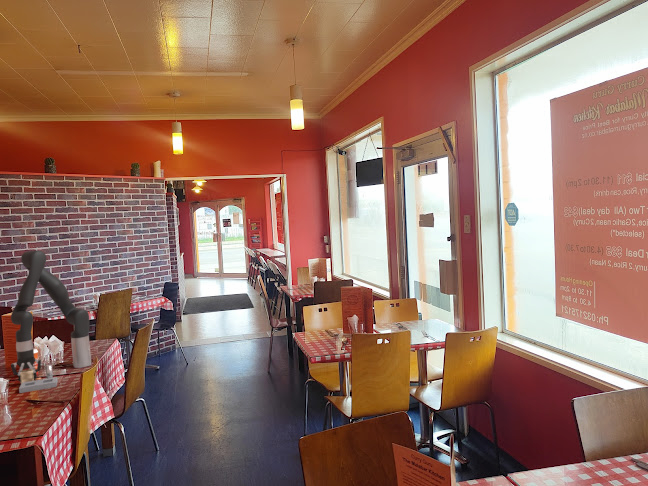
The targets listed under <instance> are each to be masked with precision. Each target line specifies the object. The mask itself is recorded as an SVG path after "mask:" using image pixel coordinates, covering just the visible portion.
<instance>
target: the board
mask: <svg viewBox="0 0 648 486" xmlns="http://www.w3.org/2000/svg"><path fill="white" fill-rule="evenodd" d="M58 380H59V379H58V377H57V376H53V378H48V379H47V378H43V379H42V378H41V379H40V380H35V381H30V382H24V383H22V384H21V383H20V386H19V388H18V391H19V394H23V393H30V392H34V391H39V390H46V389H53V388H56V387H57V386H58V383H59V382H58Z"/></svg>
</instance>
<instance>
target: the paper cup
mask: <svg viewBox="0 0 648 486" xmlns="http://www.w3.org/2000/svg"><path fill="white" fill-rule="evenodd" d="M33 350H34V358H35V359H38V358H39V356H38V352H39V351H38V348H33ZM33 365H34V367H35V369H37V367H38V364H37V363H36V362H35V363H34V364H33ZM28 369H31V368H26V369H24V370H28ZM36 373H37V376H38V375H39V371H38V372H36Z"/></svg>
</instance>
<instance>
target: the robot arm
mask: <svg viewBox="0 0 648 486" xmlns="http://www.w3.org/2000/svg"><path fill="white" fill-rule="evenodd" d="M45 253H46V252H44V251H42V250H39V249H37V250H29V251H28V250H27V251H25V252H23V253H22V255H21V257H20V261H21V263H22V265H23V266H24V267H25V268H26V270H27V271H28V275H27V277H26V279H25V280H24V282H23V284H22V286H21V287H20V290H19V293H18V298H17V302H16V304H15V306H14V309H13V310H12V312H11V313H10V314H11V315H10V321H11V323H12V324H13V325H18V326H19V325H20V328H19V329H17V330H16V331H15V342H16V343H15V350H16V358H17V360H16V362H12V363H11V364H10V368H11V371H12V373H13V375H14V376H17V377H18V382H19V383H20V384H21V378H20V373H21V372H22V370H25V369H26V368H31V370H32V371H33V376H34V380H35V379H36V378H38V375H37V373H36V372H38V373H39V372H40V370H41V364H42V358H39V359H35V358H34V350H33V349H34V342H33V337H32V336H33V334H32V330H33V323H34V316H33V313H32V312H31V311H28V310H27V309H28V308H29V307H33V304H34V300H35V295H36V291H37V287H38V284H39V285H41V287H42V289H44V290H45V292H46V293H47V295H48V296H49V298H50V299H51V300H52V301H53V302H54V303H55V305H56V306H57V307H58V308H59V310H60V311H61V313H62V314H63V316H64V318H65V320H66V321H67V323H69V324H70V325H72V326H74V329H73V331H72V332H71V333H70V338H71V340H70V341H71V343H70V344H71V351H72V352H71V353H72V362H73V363H72V365H73V368H76V369H78V368H85V367H88V366H89V367H90V366H92V356H91V354H92V353H91V347H90V336H89V333H90V329H91V328H90V323H91V322H90V314H89V312H88V310H86V309H81V308H77V307H76V306H75V305H74V304H73V302H72V301H71V298H70V295H69V290H68V289H67V287H66V286H65V284H64V283H63V282H62V281H61V279H60V278H58V276H56V275H54V274H53V273H51V272H50V271H48V269H46V267H45V265H46V263H47V255H46V254H45ZM35 362H36V363H37V364H38V367H37V369H35V367H34V365H33V364H34V363H35ZM17 366H18V367H19V370H18V371H17V368H16V367H17ZM35 381H36V380H35Z"/></svg>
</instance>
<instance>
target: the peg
mask: <svg viewBox="0 0 648 486" xmlns="http://www.w3.org/2000/svg"><path fill="white" fill-rule="evenodd" d="M44 367H45V375H46V376H45V377H46V378H45V379H48V378H53V377H54V373H53V364H47V365H45V366H44Z"/></svg>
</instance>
